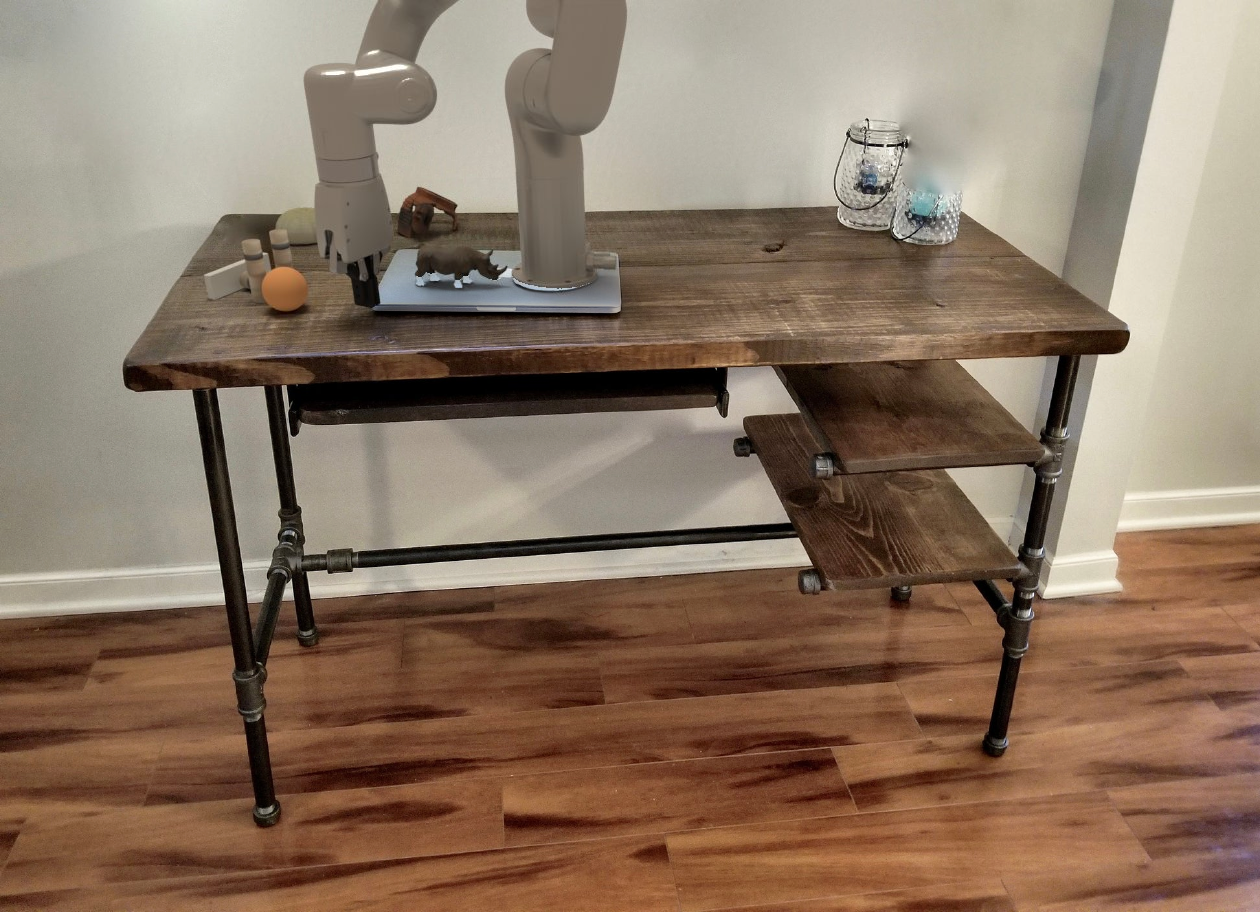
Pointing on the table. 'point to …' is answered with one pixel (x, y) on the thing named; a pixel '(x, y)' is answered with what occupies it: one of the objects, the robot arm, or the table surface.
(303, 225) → the sea urchin shell
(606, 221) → the table surface
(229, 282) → the rail
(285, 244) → the right pin
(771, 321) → the table surface
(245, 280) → the front pin
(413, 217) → the rust brown arched piece
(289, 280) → the ball
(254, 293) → the left pin
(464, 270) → the rhino figurine
